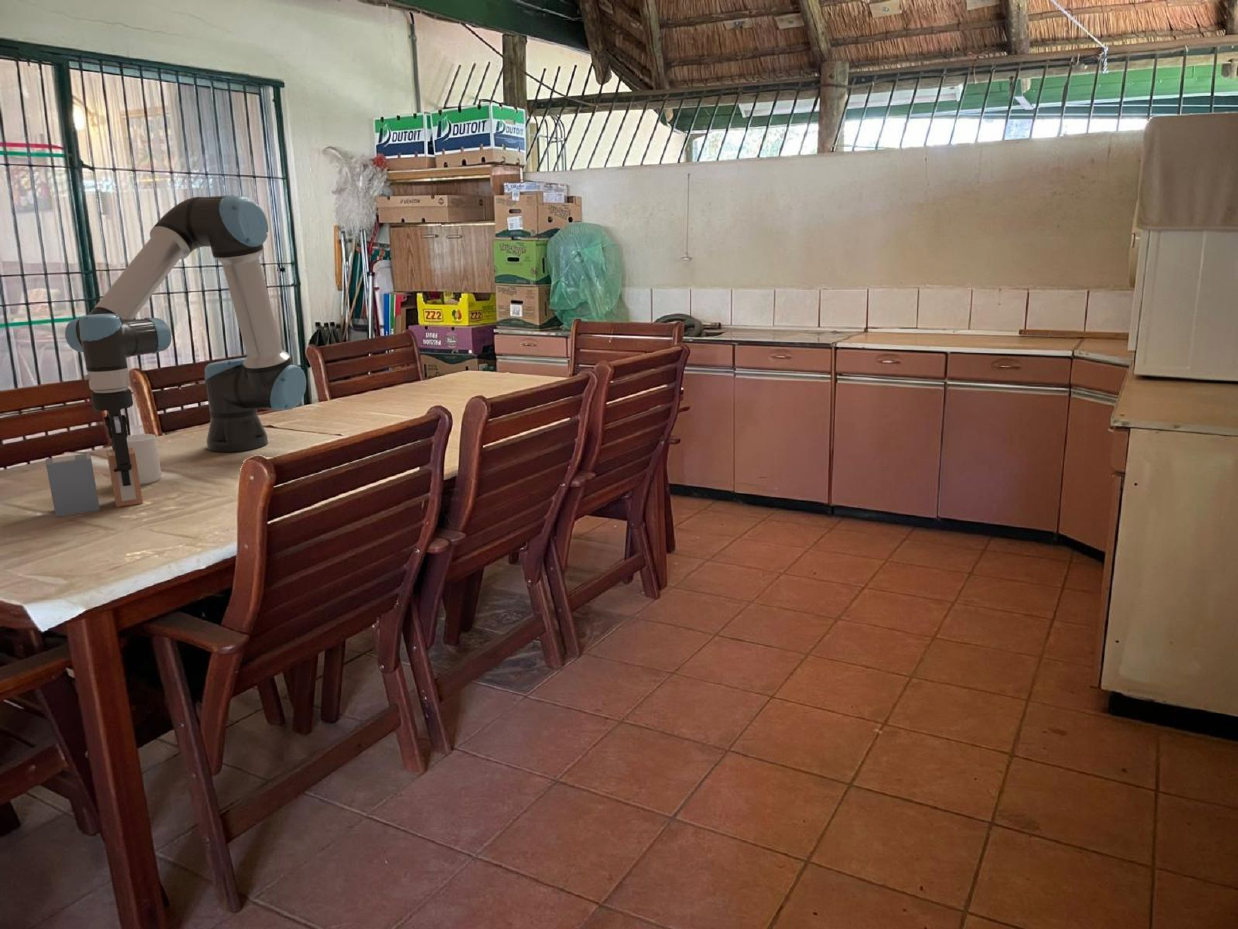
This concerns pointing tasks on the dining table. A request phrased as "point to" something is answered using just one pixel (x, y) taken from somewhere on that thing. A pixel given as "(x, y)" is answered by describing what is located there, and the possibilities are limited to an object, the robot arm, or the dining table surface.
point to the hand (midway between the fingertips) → (127, 495)
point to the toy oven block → (72, 484)
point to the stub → (115, 480)
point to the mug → (146, 457)
